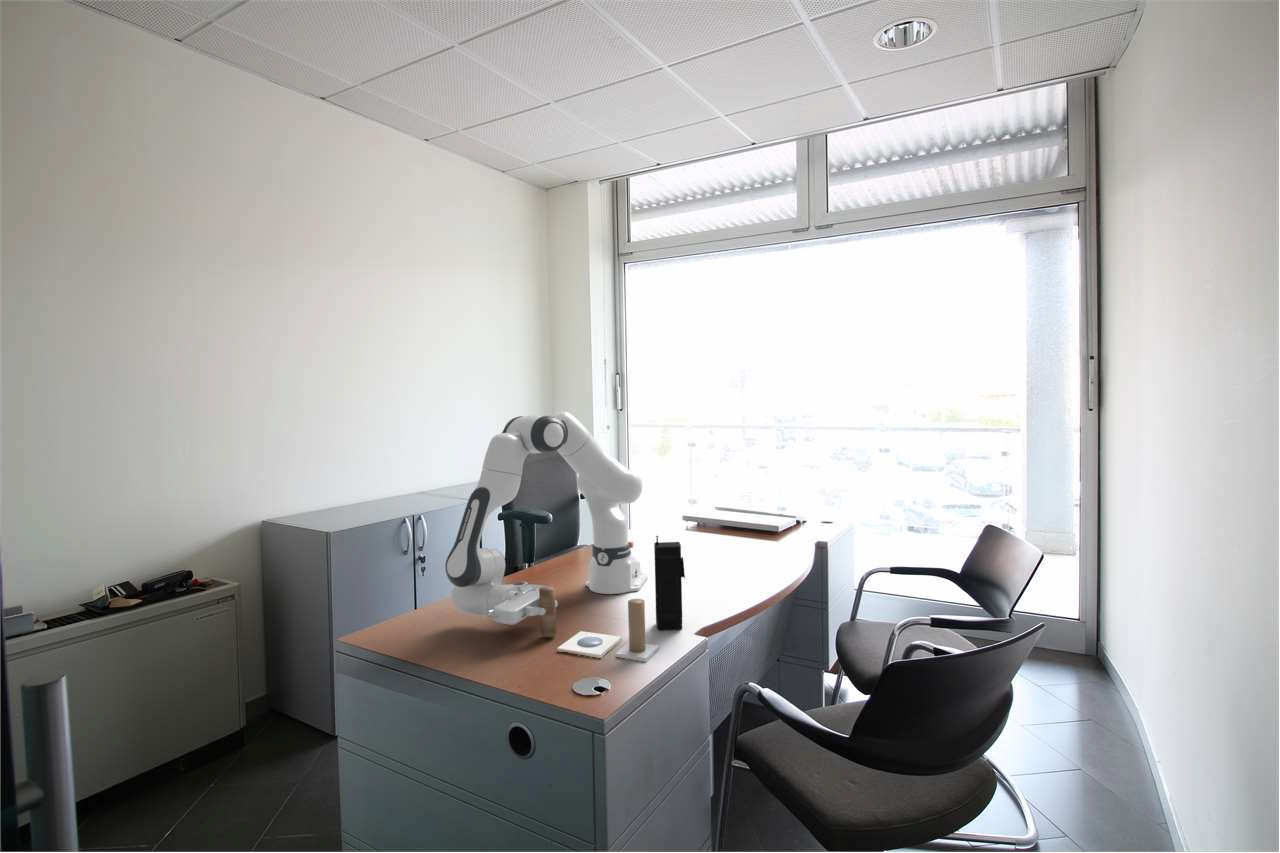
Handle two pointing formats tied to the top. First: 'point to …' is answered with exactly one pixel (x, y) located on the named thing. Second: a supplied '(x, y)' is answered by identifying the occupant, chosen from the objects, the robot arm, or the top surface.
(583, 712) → the top surface
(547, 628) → the walnut pin
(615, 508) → the robot arm
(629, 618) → the tan wooden dowel
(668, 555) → the portable radio
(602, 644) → the plate
